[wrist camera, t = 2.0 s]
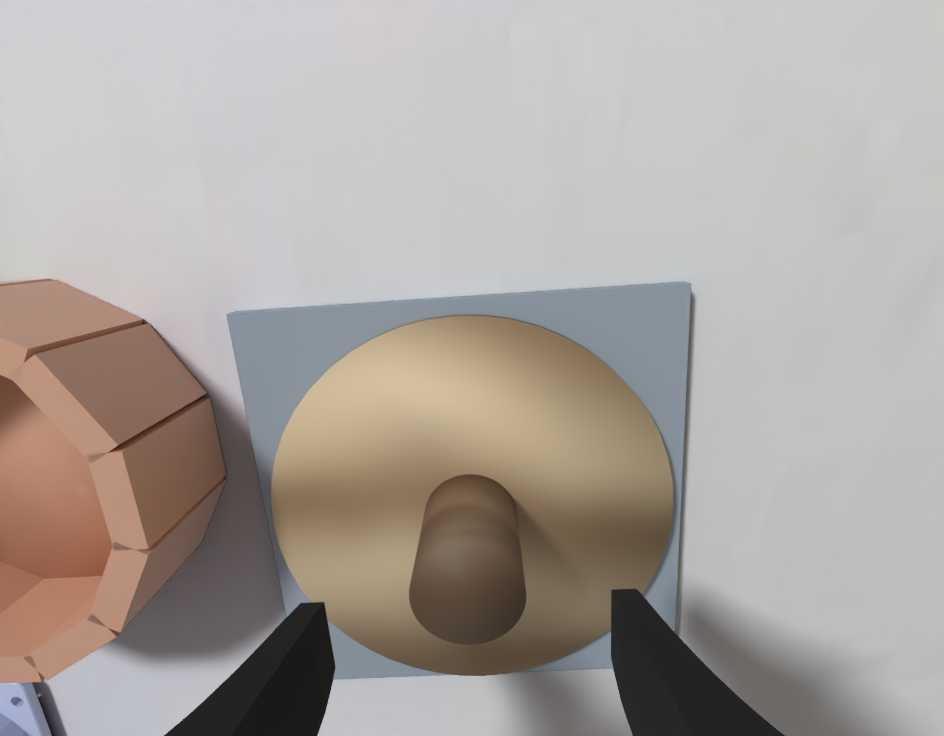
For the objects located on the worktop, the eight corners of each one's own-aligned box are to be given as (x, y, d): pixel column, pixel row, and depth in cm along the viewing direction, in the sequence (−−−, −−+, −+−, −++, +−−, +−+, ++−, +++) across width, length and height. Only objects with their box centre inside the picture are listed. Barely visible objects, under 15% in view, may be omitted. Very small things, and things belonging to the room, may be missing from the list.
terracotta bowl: (248, 578, 20) (183, 676, 15) (-44, 591, 20) (-189, 691, 16) (182, 269, 17) (75, 282, 12) (-164, 293, 17) (-386, 314, 13)
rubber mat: (667, 653, 20) (673, 665, 20) (304, 668, 21) (299, 680, 20) (683, 281, 16) (691, 283, 16) (235, 311, 17) (226, 314, 16)
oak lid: (661, 655, 20) (713, 779, 15) (310, 669, 20) (261, 794, 16) (674, 299, 16) (749, 327, 11) (243, 328, 16) (155, 365, 12)
